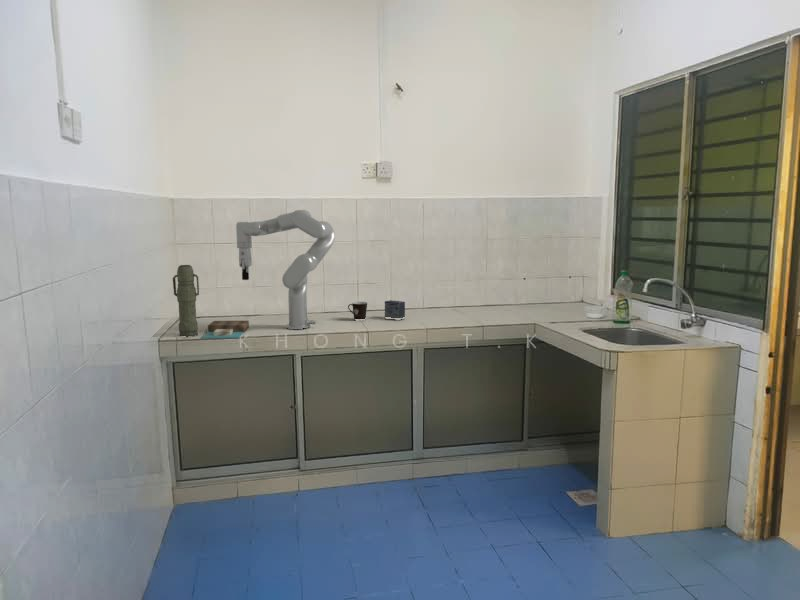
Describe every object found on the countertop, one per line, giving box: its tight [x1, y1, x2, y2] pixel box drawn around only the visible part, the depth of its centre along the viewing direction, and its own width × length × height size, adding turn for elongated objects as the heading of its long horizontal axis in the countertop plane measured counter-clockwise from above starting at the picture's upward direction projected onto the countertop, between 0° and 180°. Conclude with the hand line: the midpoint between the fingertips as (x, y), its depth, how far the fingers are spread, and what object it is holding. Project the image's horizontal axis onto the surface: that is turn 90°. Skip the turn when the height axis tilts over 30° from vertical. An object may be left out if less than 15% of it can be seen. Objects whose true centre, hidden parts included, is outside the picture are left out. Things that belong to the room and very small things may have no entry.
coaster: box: [213, 329, 233, 336], centre depth 282 cm, size 8×6×2 cm
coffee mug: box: [347, 301, 368, 320], centre depth 324 cm, size 12×9×10 cm
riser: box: [207, 320, 250, 333], centre depth 294 cm, size 18×12×4 cm, turn 94°
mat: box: [200, 331, 245, 340], centre depth 282 cm, size 18×12×1 cm, turn 94°
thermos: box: [172, 264, 200, 338], centre depth 280 cm, size 9×12×35 cm
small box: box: [384, 300, 406, 318], centre depth 327 cm, size 11×6×10 cm, turn 58°
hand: (245, 279), depth 302 cm, fingers closed
